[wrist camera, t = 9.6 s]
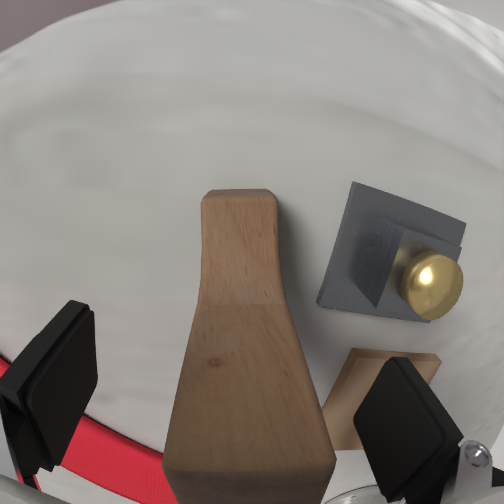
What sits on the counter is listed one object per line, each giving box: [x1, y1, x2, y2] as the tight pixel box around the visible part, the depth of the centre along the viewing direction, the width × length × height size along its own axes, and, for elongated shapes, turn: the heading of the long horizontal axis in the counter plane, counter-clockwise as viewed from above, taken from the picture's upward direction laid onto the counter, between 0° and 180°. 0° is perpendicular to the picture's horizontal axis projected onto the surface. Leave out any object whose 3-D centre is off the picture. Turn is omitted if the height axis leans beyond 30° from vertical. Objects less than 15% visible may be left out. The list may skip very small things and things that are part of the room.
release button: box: [400, 250, 463, 320], centre depth 18 cm, size 4×4×2 cm
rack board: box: [322, 348, 442, 450], centre depth 28 cm, size 11×14×2 cm
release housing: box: [316, 182, 466, 323], centre depth 22 cm, size 12×10×4 cm
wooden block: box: [161, 189, 337, 504], centre depth 14 cm, size 9×4×18 cm, turn 0°
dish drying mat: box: [0, 358, 178, 504], centre depth 29 cm, size 16×41×4 cm, turn 54°
